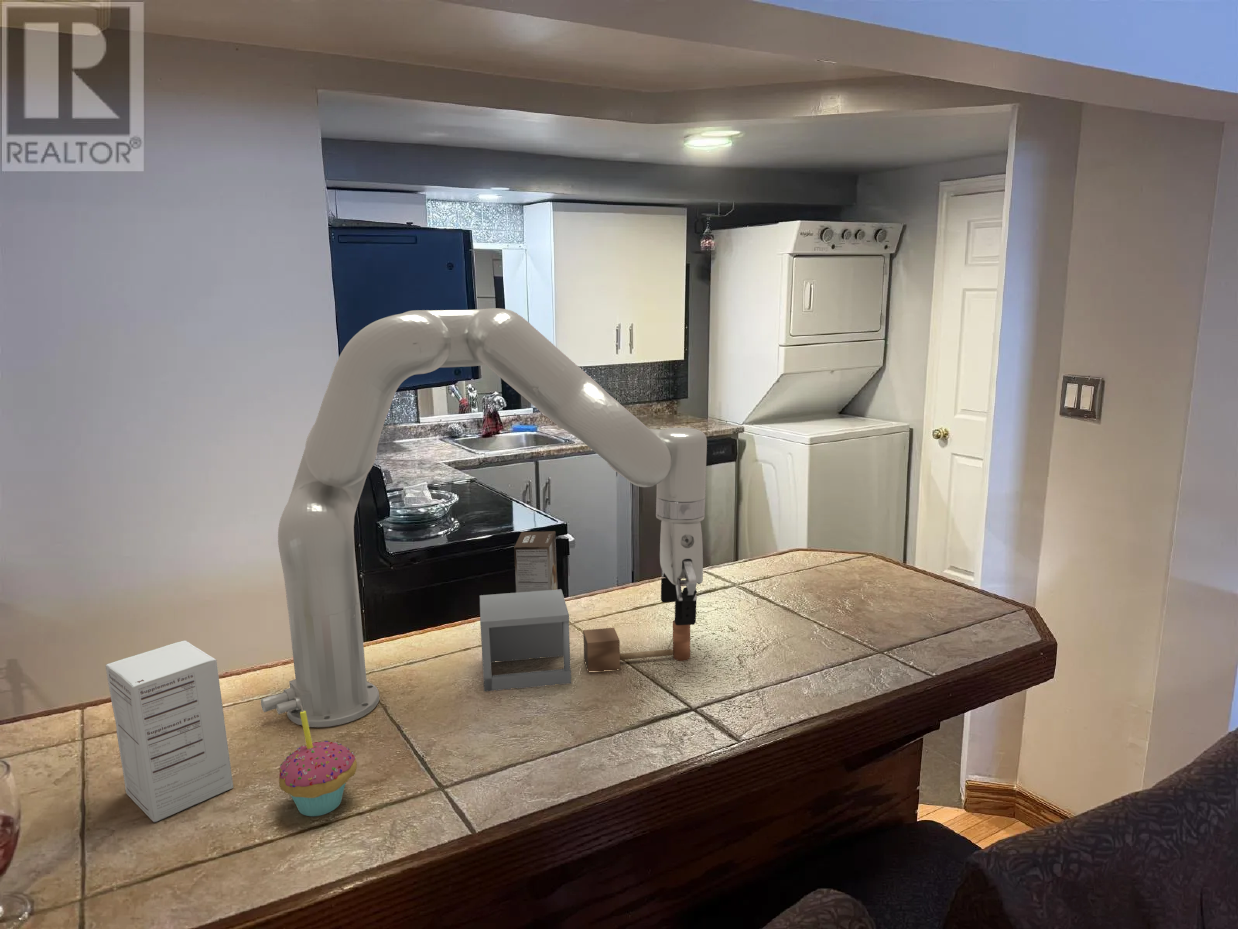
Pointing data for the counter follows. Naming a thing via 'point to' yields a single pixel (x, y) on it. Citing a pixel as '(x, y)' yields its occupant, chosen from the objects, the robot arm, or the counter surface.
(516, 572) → the coffee box
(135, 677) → the supplement box
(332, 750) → the cupcake
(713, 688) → the counter surface
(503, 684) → the grey open storage bin
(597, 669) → the block
